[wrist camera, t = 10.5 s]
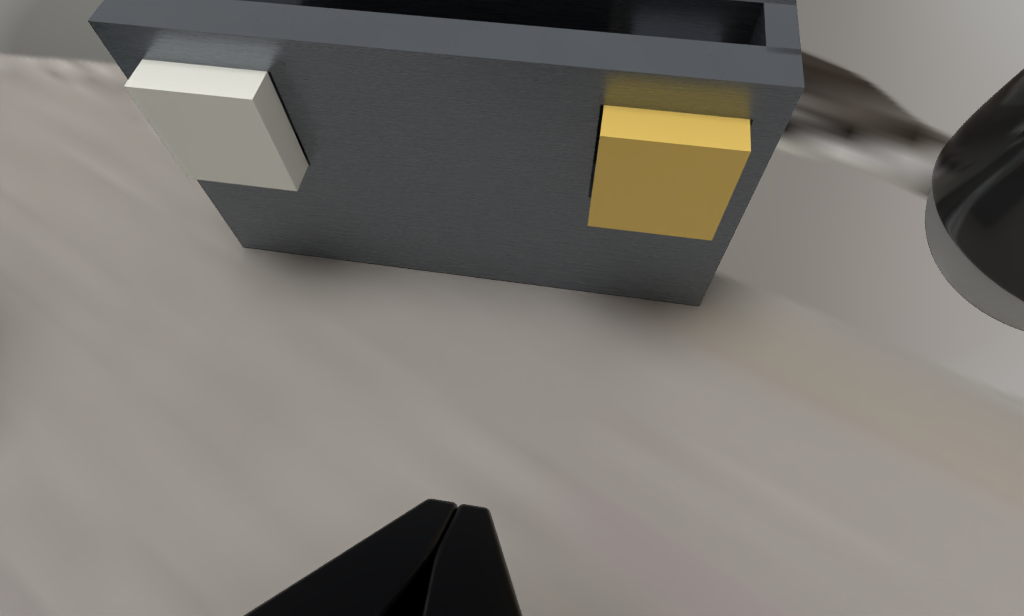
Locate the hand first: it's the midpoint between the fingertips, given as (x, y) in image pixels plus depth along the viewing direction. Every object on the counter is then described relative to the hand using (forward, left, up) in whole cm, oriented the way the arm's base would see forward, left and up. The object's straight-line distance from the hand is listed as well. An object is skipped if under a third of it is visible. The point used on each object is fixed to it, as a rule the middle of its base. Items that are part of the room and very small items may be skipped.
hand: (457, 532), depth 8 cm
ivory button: (-5, +16, -8) cm, 19 cm away
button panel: (+1, +15, -14) cm, 20 cm away
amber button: (+8, +12, -8) cm, 16 cm away
